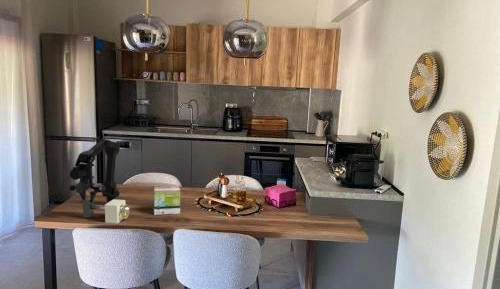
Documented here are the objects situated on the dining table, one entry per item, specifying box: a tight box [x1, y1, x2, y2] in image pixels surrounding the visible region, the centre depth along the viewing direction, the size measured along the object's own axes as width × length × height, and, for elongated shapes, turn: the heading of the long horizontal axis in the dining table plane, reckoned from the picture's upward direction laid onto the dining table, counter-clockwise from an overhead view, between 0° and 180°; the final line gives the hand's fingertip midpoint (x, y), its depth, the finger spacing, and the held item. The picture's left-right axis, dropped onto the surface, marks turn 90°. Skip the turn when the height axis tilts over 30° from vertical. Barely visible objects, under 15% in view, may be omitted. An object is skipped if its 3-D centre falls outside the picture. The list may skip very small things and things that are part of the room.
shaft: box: [82, 197, 131, 218], centre depth 213 cm, size 4×26×10 cm, turn 83°
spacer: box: [122, 203, 131, 220], centre depth 212 cm, size 7×1×7 cm, turn 173°
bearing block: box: [104, 198, 127, 224], centre depth 212 cm, size 10×7×10 cm
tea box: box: [153, 185, 181, 216], centre depth 227 cm, size 15×10×15 cm
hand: (88, 202), depth 214 cm, fingers closed on shaft, 4 cm apart
